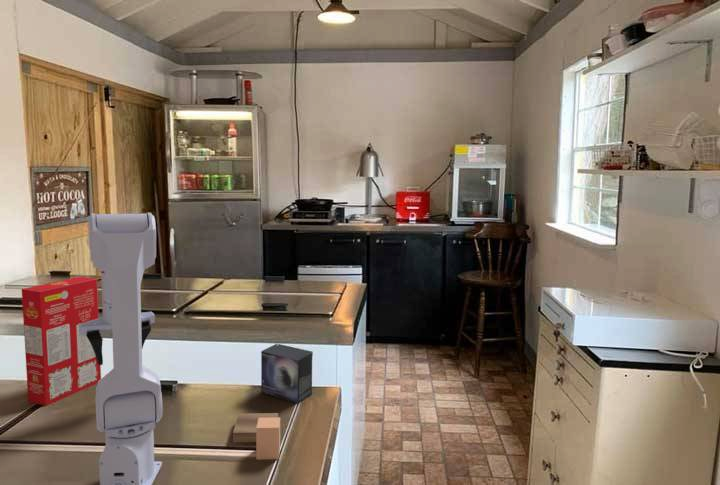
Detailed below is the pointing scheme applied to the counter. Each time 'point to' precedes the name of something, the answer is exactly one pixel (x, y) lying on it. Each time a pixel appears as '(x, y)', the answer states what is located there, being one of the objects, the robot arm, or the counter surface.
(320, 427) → the counter surface
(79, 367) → the food packaging
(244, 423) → the plinth
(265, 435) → the block
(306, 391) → the small box
